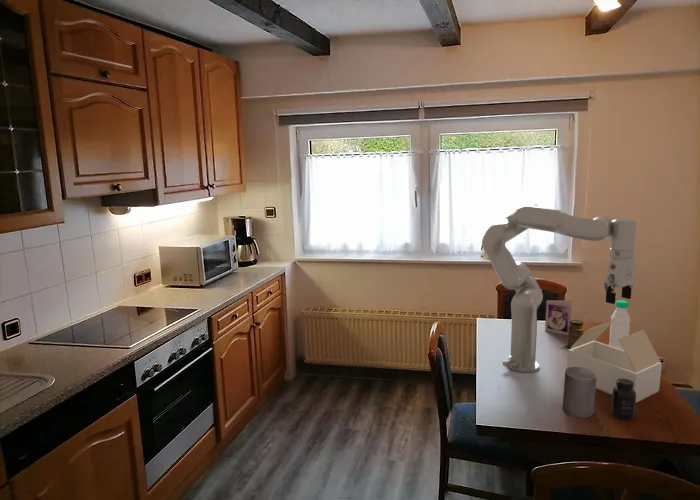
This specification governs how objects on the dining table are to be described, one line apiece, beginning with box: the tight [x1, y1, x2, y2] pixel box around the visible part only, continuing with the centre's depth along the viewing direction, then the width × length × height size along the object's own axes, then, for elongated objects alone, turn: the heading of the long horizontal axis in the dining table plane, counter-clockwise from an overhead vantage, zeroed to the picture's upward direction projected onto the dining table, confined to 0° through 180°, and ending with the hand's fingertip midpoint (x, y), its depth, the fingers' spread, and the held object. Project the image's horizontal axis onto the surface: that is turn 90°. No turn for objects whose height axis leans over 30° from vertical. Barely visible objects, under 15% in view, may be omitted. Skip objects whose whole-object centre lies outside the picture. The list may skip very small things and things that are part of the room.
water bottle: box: [608, 299, 631, 350], centre depth 210 cm, size 7×7×25 cm
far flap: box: [571, 320, 613, 349], centre depth 196 cm, size 15×12×1 cm
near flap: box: [619, 329, 661, 371], centre depth 181 cm, size 15×12×1 cm
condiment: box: [561, 319, 585, 351], centre depth 225 cm, size 7×8×12 cm
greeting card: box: [544, 299, 573, 336], centre depth 244 cm, size 11×7×15 cm, turn 50°
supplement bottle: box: [610, 378, 637, 421], centre depth 169 cm, size 7×7×12 cm
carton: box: [566, 340, 663, 404], centre depth 191 cm, size 16×26×11 cm, turn 32°
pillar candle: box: [562, 367, 597, 419], centre depth 172 cm, size 10×10×15 cm
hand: (618, 300), depth 185 cm, fingers open, 9 cm apart
